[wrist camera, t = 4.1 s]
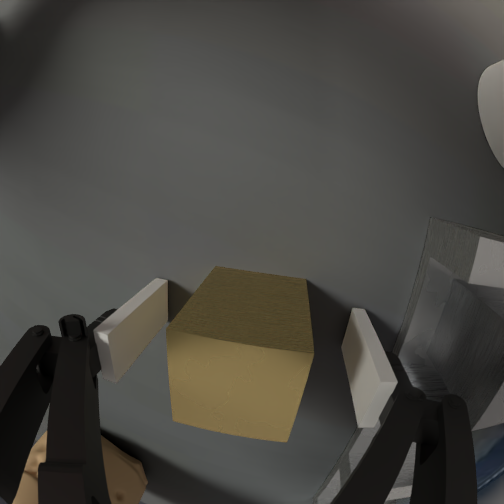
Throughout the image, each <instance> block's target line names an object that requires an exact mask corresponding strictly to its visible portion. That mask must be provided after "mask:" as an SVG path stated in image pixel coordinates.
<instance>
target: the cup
mask: <svg viewBox="0 0 504 504" xmlns="http://www.w3.org/2000/svg"><path fill="white" fill-rule="evenodd" d="M478 109H479V115H480V119H481V123H482V127H483V130H484V133H485V136H486V139H487V141H488V143H489V146H490V148H491V150H492V152H493V154H494V155H495V157H496V159H497V160H498V162H499V163H500V165H501V166H502V167H503V168H504V60H502V61H500V62H497V63H495V64H493V65H491V66H489V67H488V68H486V69H485V70H484V72H483V73H482V75H481V77H480V80H479V84H478Z"/></svg>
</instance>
